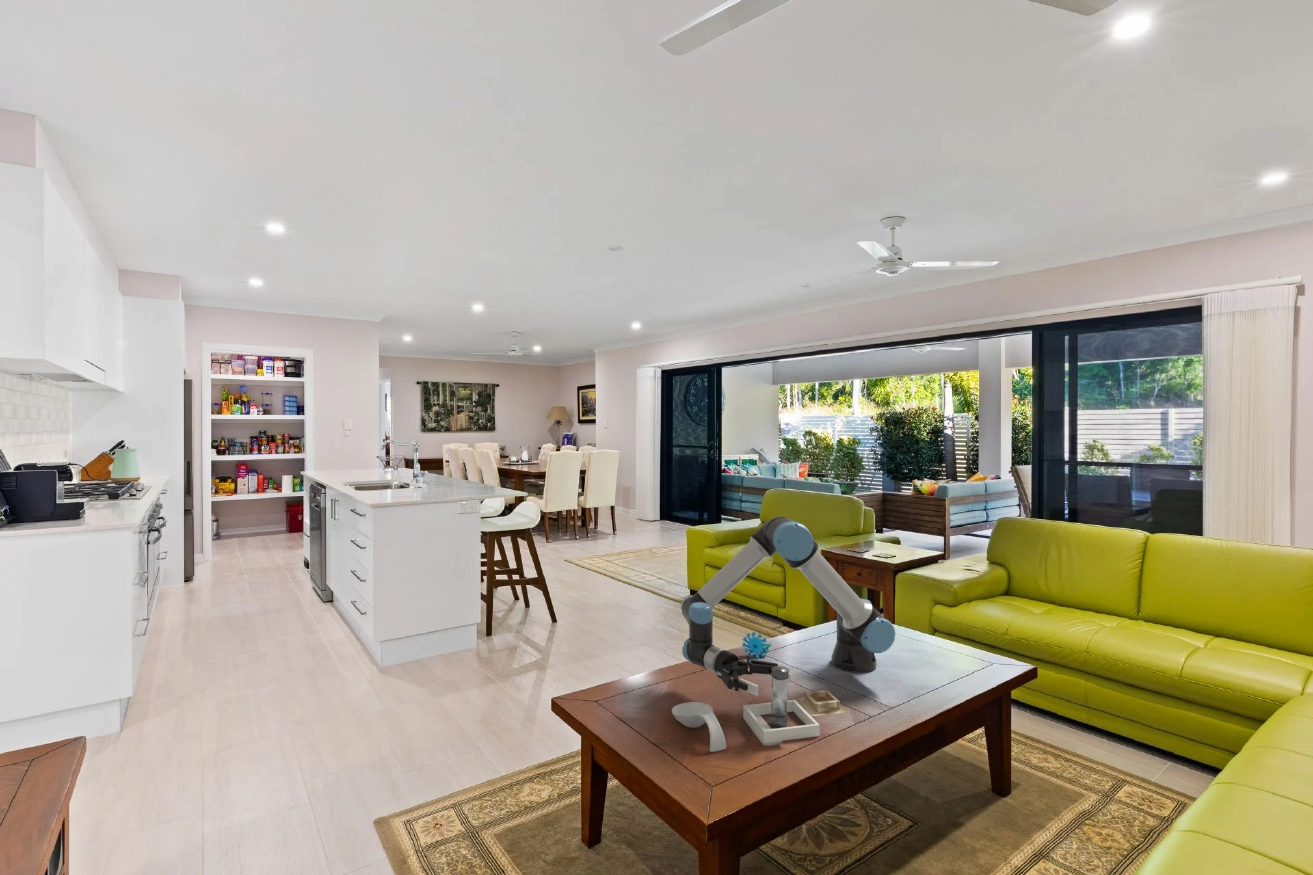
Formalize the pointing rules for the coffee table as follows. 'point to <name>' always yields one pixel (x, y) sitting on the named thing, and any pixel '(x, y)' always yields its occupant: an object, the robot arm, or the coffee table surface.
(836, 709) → the socket block
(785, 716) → the capped clear cylinder
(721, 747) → the spoon rest
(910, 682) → the coffee table surface
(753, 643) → the gear
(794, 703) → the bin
